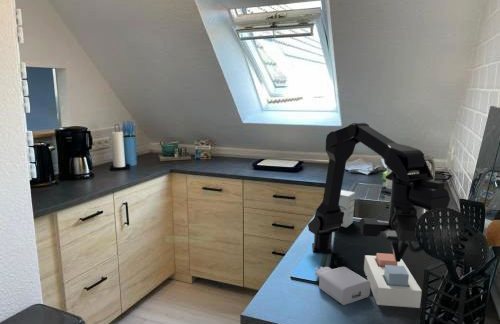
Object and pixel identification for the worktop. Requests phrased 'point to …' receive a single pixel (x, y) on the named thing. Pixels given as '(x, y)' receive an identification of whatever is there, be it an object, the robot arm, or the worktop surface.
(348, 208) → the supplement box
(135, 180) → the worktop surface
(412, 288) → the key console
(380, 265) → the brick key
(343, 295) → the charger
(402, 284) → the slate key
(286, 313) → the worktop surface
